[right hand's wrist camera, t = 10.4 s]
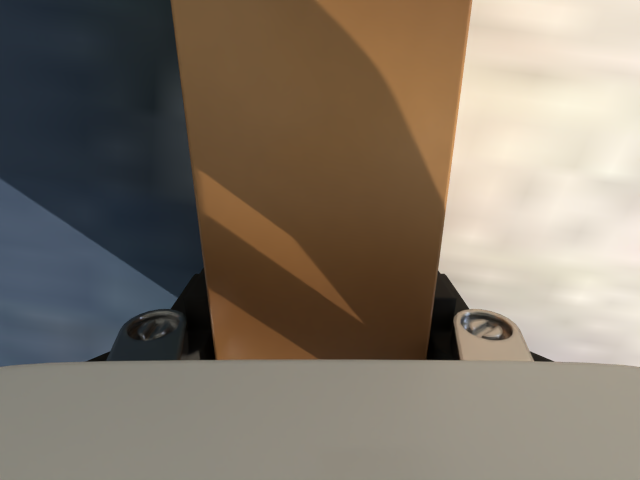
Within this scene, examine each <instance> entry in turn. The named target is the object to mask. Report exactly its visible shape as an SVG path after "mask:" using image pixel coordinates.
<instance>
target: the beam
mask: <svg viewBox="0 0 640 480" xmlns="http://www.w3.org/2000/svg"><path fill="white" fill-rule="evenodd" d="M471 7H472V0H171V8H172V16H173V24H174V32H175V40H176V48H177V56H178V64H179V72H180V80H181V88H182V96H183V104H184V112H185V120H186V128H187V136H188V144H189V152H190V160H191V168H192V176H193V184H194V192H195V200H196V208H197V216H198V224H199V232H200V240H201V248H202V256H203V264H204V272H205V280H206V288H207V296H208V304H209V312H210V320H211V328H212V336H213V344H214V352H215V360H427V352H428V344H429V336H430V329H431V321H432V313H433V305H434V297H435V289H436V281H437V274H438V266H439V258H440V250H441V242H442V234H443V226H444V219H445V211H446V203H447V195H448V187H449V179H450V172H451V164H452V156H453V148H454V140H455V132H456V124H457V117H458V109H459V101H460V93H461V85H462V77H463V69H464V62H465V54H466V46H467V38H468V30H469V22H470V14H471Z"/></svg>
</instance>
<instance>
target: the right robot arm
mask: <svg viewBox="0 0 640 480" xmlns="http://www.w3.org/2000/svg"><path fill="white" fill-rule="evenodd" d="M0 480H640V367H635V366H626V365H613V364H597V363H576V362H554V361H552V360H549V359H547V358H544V357H542V356H540V355H537V354H535V353H533V352H530V351H529V349H528V347H527V344H526V342H525V340H524V338H523V336H522V333H521V331H520V329H519V328H518V326H517V325H516V324H515V323H514V322H513V321H511V320H510V319H509V318H507V317H505V316H503V315H501V314H498V313H495V312H492V311H487V310H482V309H469V308H468V306H467V305H466V304H465V302H464V301H463V299H462V298H461V296H460V295H459V293H458V292H457V290H456V289H455V287H454V286H453V285H452V283H451V282H450V280H449V279H448V277H447V276H446V275H445V274H440V272H439V271H438V274H437V281H436V289H435V297H434V305H433V313H432V321H431V329H430V336H429V344H428V352H427V360H215V352H214V344H213V336H212V328H211V320H210V312H209V304H208V296H207V288H206V280H205V272H204V268H203V269H202V271H201V272H200V274H195V275H194V276H193V277H192V279H191V280H190V282H189V283H188V285H187V286H186V287H185V289H184V290H183V292H182V293H181V295H180V296H179V298H178V299H177V301H176V302H175V303H174V305H173V306H172V308H171V309H158V310H153V311H148V312H145V313H142V314H139V315H137V316H135V317H133V318H131V319H130V320H129V321H127V322H126V323H125V324H124V325H123V326H122V328H121V329H120V331H119V333H118V336H117V338H116V340H115V342H114V344H113V347H112V349H111V351H110V352H107V353H105V354H103V355H100V356H98V357H96V358H93V359H91V360H88V361H86V362H66V363H42V364H27V365H13V366H5V367H0Z"/></svg>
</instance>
